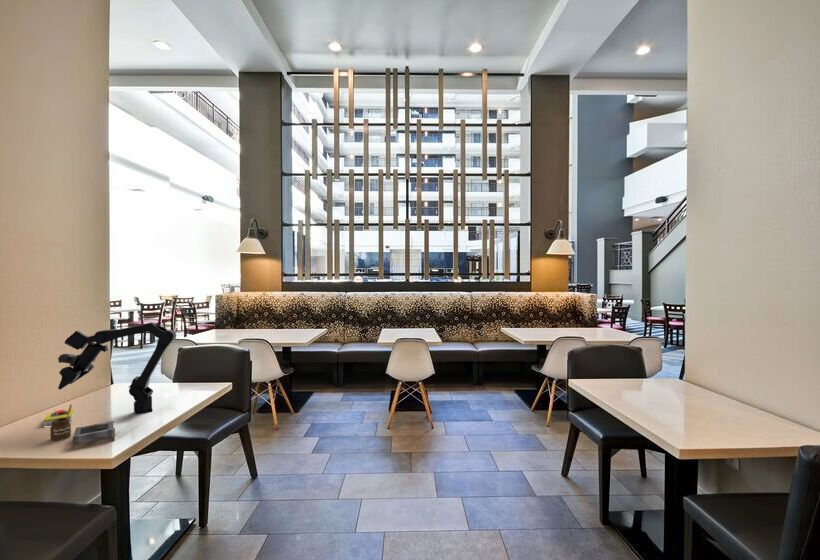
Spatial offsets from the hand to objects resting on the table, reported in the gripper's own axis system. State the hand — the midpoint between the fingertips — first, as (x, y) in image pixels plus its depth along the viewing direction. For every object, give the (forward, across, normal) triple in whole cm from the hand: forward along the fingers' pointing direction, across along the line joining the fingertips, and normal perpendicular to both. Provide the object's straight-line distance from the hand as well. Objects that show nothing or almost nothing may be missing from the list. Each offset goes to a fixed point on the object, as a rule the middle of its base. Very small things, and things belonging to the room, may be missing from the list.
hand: (64, 386), depth 172 cm
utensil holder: (+8, +25, +15) cm, 30 cm away
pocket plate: (0, +32, +26) cm, 41 cm away
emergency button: (+14, 0, +7) cm, 15 cm away
